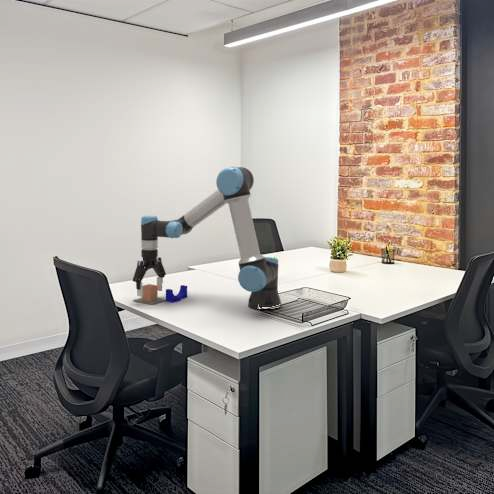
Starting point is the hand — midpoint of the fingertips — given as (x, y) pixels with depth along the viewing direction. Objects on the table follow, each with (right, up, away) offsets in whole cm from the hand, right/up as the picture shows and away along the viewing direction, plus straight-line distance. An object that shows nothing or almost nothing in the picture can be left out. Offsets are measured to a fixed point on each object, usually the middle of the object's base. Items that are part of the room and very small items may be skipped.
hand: (149, 293), depth 248 cm
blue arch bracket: (+13, -4, +4) cm, 14 cm away
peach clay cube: (0, -3, +1) cm, 3 cm away
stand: (0, -4, +1) cm, 4 cm away
